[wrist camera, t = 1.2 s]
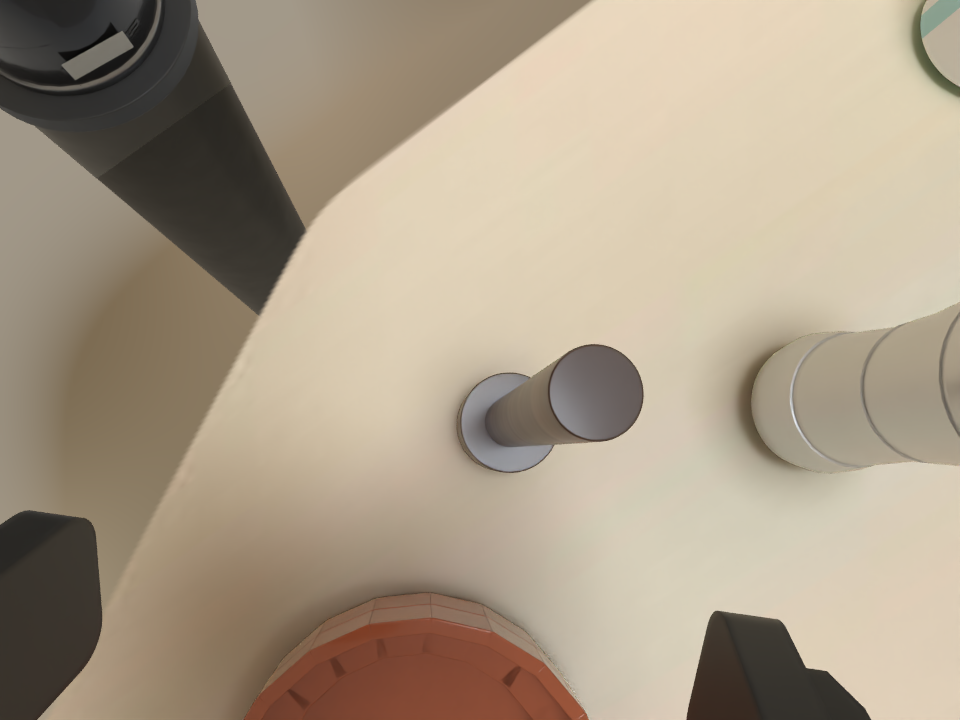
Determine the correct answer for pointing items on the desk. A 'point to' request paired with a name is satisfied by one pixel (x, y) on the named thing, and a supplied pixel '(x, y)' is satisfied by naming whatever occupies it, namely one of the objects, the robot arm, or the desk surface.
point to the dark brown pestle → (550, 408)
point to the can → (942, 36)
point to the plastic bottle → (864, 396)
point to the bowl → (417, 667)
